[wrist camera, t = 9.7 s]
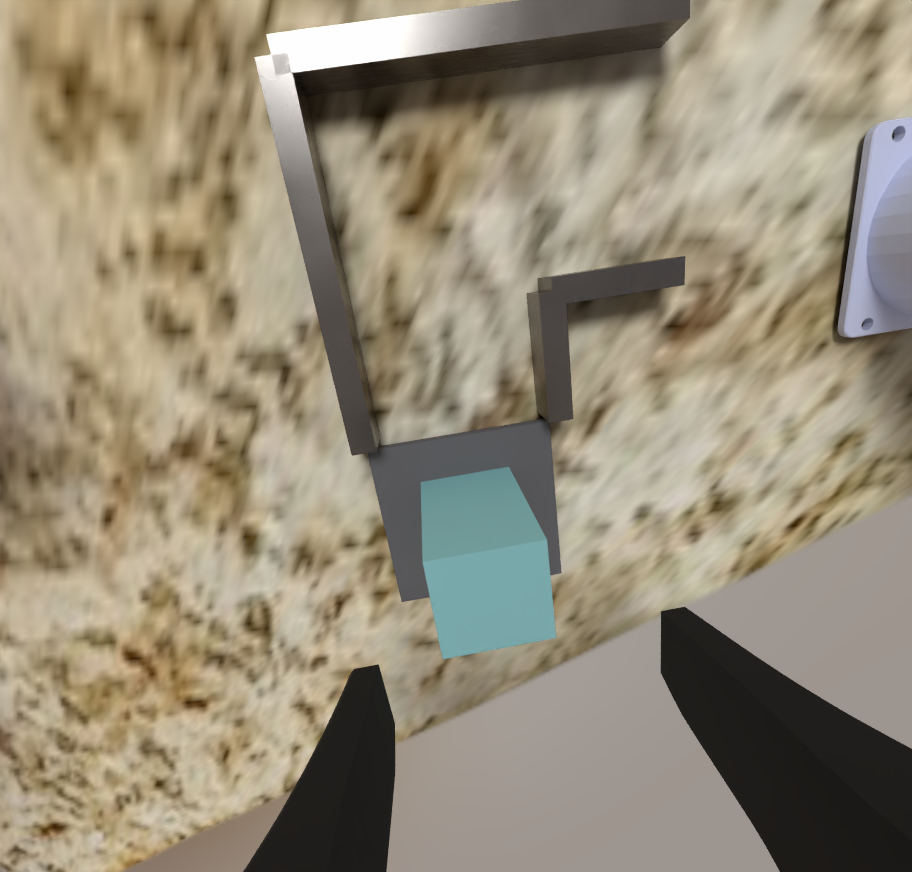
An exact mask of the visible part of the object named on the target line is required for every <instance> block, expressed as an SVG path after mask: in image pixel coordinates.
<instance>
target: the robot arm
mask: <svg viewBox="0 0 912 872" xmlns="http://www.w3.org/2000/svg"><path fill="white" fill-rule="evenodd" d="M893 132H894V139H892V133H893ZM863 321H864V325H863V326H861V325H862V323H863ZM909 328H912V117H908V118H901V119H894V120H887V121H884V122H882V123H879V124H876V125H874V126H873V127H871V128H870V129H869V131H868V132H867V134H866V136H865V139H864V145H863V152H862V159H861V166H860V173H859V180H858V187H857V194H856V201H855V208H854V215H853V223H852V230H851V237H850V244H849V251H848V258H847V265H846V272H845V279H844V286H843V293H842V300H841V307H840V314H839V321H838V333H839V335H841V336H842V337H850V338H854V337H860V336H866V335H872V334H879V333H885V332H891V331H897V330H903V329H909ZM661 674H662V676H663V678H664V680H665V682H666V684H667V686H668V688H669V690H670V692H671V694H672V696H673V698H674V700H675V702H676V704H677V705H678V708H679V709H680V712H681V713H682V715H683V717H684V719H685V720H686V721H687V723H688V725H689V726H690V728H691V730H692V731H693V733H694V734H695V736H696V737H697V739H698V741H699V742H700V744H701V745H702V747H703V748H704V750H705V751H706V753H707V755H708V756H709V758H710V759H711V761H712V762H713V764H714V765H715V767H716V768H717V770H718V771H719V773H720V774H721V776H722V778H723V779H724V781H725V782H726V784H727V785H728V787H729V788H730V790H731V791H732V793H733V795H734V796H735V798H736V799H737V801H738V802H739V804H740V805H741V807H742V808H743V810H744V811H745V813H746V815H747V816H748V818H749V819H750V820H751V822H752V824H753V825H754V827H755V829H756V831H757V832H758V834H759V836H760V837H761V839H762V840H763V842H764V844H765V845H766V847H767V849H768V851H769V853H770V854H771V856H772V858H773V860H774V862H775V863H776V865H777V867H778V869H779V871H780V872H912V749H911V748H909V747H907V746H905V745H903V744H901V743H900V742H898V741H896V740H894V739H892V738H890V737H888V736H887V735H885V734H883V733H881V732H879V731H878V730H876V729H874V728H872V727H870V726H868V725H867V724H865V723H863V722H861V721H859V720H857V719H856V718H854V717H852V716H851V715H849V714H847V713H845V712H843V711H842V710H840V709H838V708H837V707H835V706H833V705H832V704H830V703H828V702H827V701H825V700H823V699H822V698H820V697H819V696H817V695H815V694H814V693H812V692H810V691H809V690H807V689H805V688H804V687H802V686H801V685H799V684H797V683H796V682H794V681H793V680H791V679H789V678H788V677H786V676H785V675H783V674H782V673H780V672H779V671H777V670H776V669H774V668H773V667H771V666H770V665H768V664H767V663H765V662H763V661H762V660H761V659H759V658H757V657H756V656H754V655H753V654H752V653H750V652H749V651H747V650H746V649H744V648H743V647H741V646H740V645H739V644H737V643H736V642H734V641H733V640H731V639H730V638H728V637H727V636H726V635H724V634H723V633H721V632H720V631H718V630H717V629H716V628H714V627H713V626H711V625H710V624H708V623H707V622H705V621H704V620H703V619H701V618H700V617H699V616H697V615H695V614H694V613H693V612H691V611H690V610H688V609H687V608H686V607H682V608H676V609H671V610H666V611H661ZM394 778H395V722H394V719H393V715H392V712H391V708H390V704H389V701H388V697H387V693H386V690H385V686H384V683H383V679H382V675H381V672H380V668H379V665H373V666H368V667H363V668H357V669H354V670H353V671H352V672H351V674H350V676H349V679H348V681H347V683H346V686H345V688H344V690H343V692H342V695H341V697H340V699H339V701H338V703H337V706H336V708H335V710H334V712H333V714H332V716H331V718H330V720H329V723H328V725H327V727H326V729H325V731H324V733H323V735H322V737H321V739H320V741H319V743H318V745H317V746H316V748H315V750H314V752H313V754H312V756H311V758H310V760H309V762H308V764H307V766H306V768H305V770H304V771H303V773H302V775H301V777H300V779H299V780H298V782H297V784H296V786H295V787H294V789H293V791H292V793H291V795H290V796H289V798H288V800H287V802H286V804H285V805H284V807H283V809H282V811H281V812H280V814H279V816H278V817H277V819H276V821H275V822H274V824H273V826H272V827H271V829H270V831H269V832H268V834H267V835H266V837H265V839H264V840H263V842H262V843H261V845H260V847H259V848H258V850H257V851H256V853H255V855H254V856H253V857H252V859H251V861H250V863H249V864H248V865H247V867H246V868H245V870H244V871H243V872H386V869H387V857H388V847H389V836H390V825H391V814H392V802H393V791H394V780H395V779H394Z"/></svg>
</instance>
